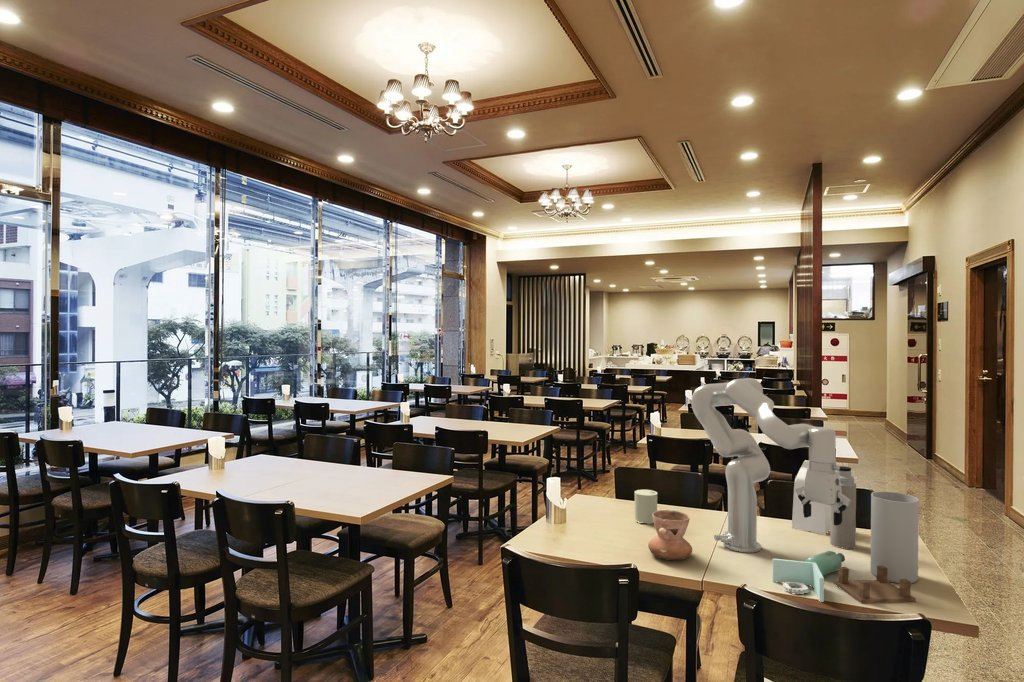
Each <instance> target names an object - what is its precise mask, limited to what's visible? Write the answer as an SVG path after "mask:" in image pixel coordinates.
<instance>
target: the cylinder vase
mask: <svg viewBox="0 0 1024 682" xmlns="http://www.w3.org/2000/svg"><path fill="white" fill-rule="evenodd" d="M919 500H920V499H919V498H918V497H916V496H913V495H911V494H906V493H901V492H894V491H872V492H871V493H870V572H871V574H872V575H874V576H875V577H876V578H877V566H885V567H886V568H887V581H888V582H890V583H892V584H893V583H894V584H900V579H907V580H909V581H911V584H914V583H916V582H917V581H918V580H919V521H920V520H919V519H920V518H919V516H920V515H919V514H920V513H919V510H920V509H919V507H920V506H919V505H920V503H919Z"/></svg>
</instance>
